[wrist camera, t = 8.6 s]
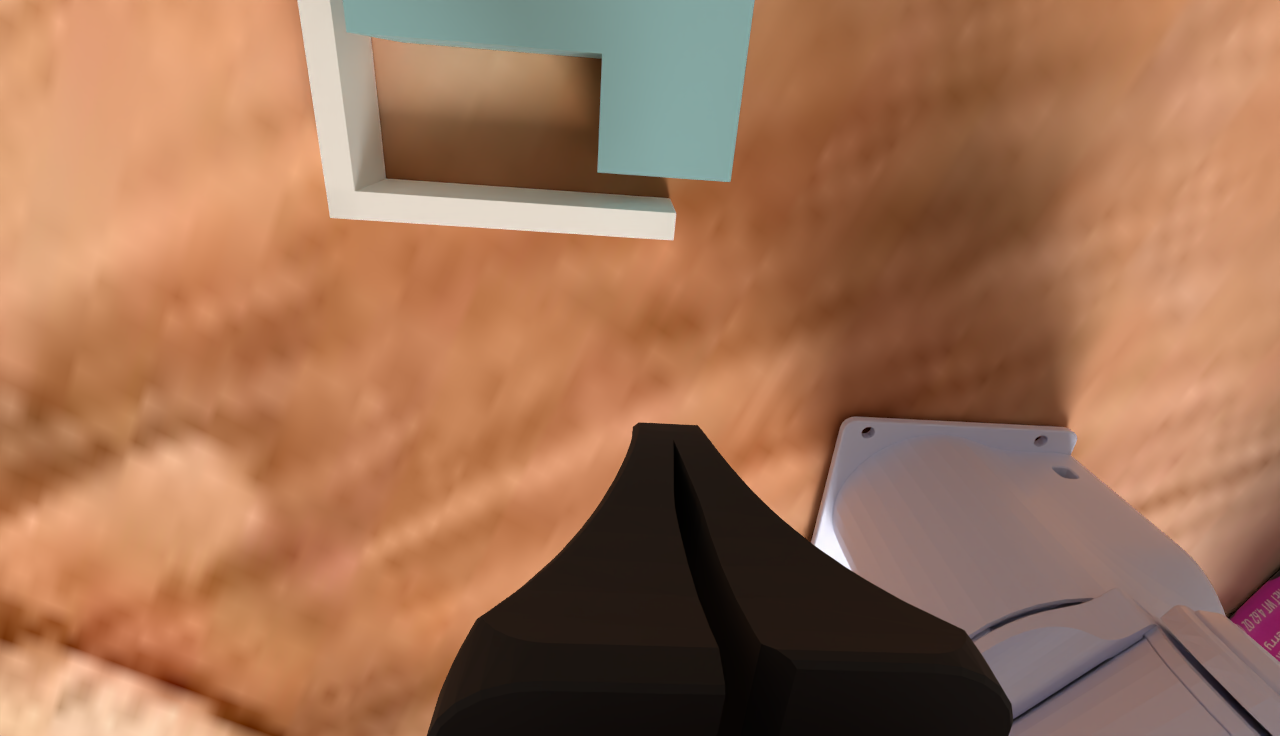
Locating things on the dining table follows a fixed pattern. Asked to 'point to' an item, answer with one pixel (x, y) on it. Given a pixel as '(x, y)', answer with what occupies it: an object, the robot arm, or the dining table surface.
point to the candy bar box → (1262, 616)
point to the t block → (610, 66)
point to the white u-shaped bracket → (368, 195)
